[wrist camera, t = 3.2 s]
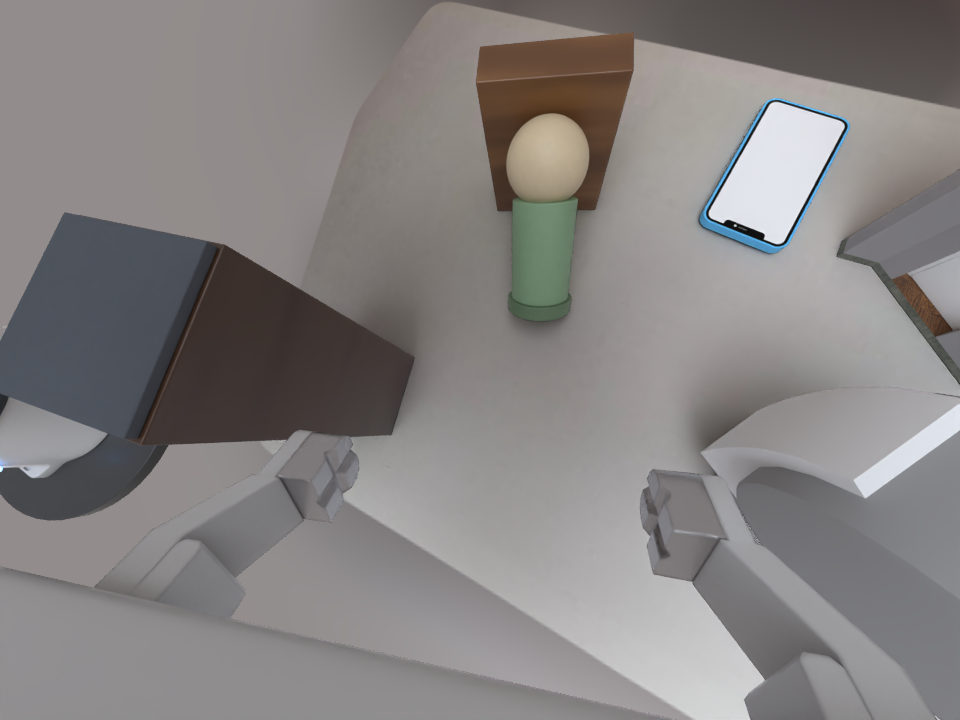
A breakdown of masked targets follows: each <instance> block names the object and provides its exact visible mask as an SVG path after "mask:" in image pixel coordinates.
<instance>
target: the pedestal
mask: <svg viewBox="0 0 960 720" xmlns="http://www.w3.org/2000/svg"><path fill="white" fill-rule="evenodd" d="M80 216H82V215H80ZM85 217H87V216H85ZM90 218H92V217H90ZM95 219H97V218H95ZM99 220H101V219H99ZM104 221H106V220H104ZM109 222H111V221H109ZM114 223H116V222H114ZM119 224H121V223H119ZM124 225H126V224H124ZM129 226H131V225H129ZM134 227H136V226H134ZM139 228H140V227H139ZM144 229H146V228H144ZM148 230H151V229H148ZM153 231H155V230H153ZM158 232H160V231H158ZM163 233H165V232H163ZM168 234H170V233H168ZM173 235H175V234H173ZM178 236H179V235H178ZM183 237H185V236H183ZM188 238H190V237H188ZM192 239H195V238H192ZM197 240H199V239H197ZM202 241H204V240H202ZM207 242H209V241H207ZM209 243H211V244H212V245H214V246H216V247H217V251H216V253H215V256H214V258H213V261H212V263H211V265H210V268H209V270H208V273H207V275H206V277H205V280H204V282H203V285H202V287H201V289H200V292H199V294H198V297H197V299H196V301H195V304H194V306H193V309H192V311H191V313H190V316H189V318H188V321H187V323H186V325H185V328H184V330H183V333H182V335H181V337H180V340H179V342H178V345H177V347H176V349H175V352H174V354H173V357H172V359H171V361H170V364H169V366H168V369H167V371H166V373H165V376H164V378H163V381H162V383H161V385H160V388H159V390H158V393H157V395H156V397H155V400H154V402H153V405H152V407H151V409H150V412H149V414H148V417H147V419H146V421H145V424H144V426H143V429H142V431H141V433H140V436H139V438H138V439H125V440H127V441H130V442H133V443H136V444H138V445H141V446H148V445H169V444H170V445H172V444H195V443H216V442H217V443H219V442H242V441H265V440H288V439H289V437H290V436H291V435H292V434H293V433H294V432H296V431H298V430H307V431H315V432H323V433H330V434H337V435H344V436H349V437H359V436H382V435H391V433H392V430H393V427H394V423H395V420H396V417H397V414H398V410H399V407H400V404H401V400H402V397H403V394H404V391H405V387H406V384H407V381H408V377H409V374H410V371H411V368H412V364H413V361H414V357H413V356H411V355H410V354H408V353H406V352H404V351H403V350H401V349H399V348H398V347H396V346H394V345H393V344H391V343H389V342H388V341H386V340H384V339H383V338H381V337H379V336H378V335H376V334H374V333H373V332H371V331H369V330H368V329H366V328H364V327H362V326H361V325H359V324H357V323H356V322H354V321H352V320H351V319H349V318H347V317H346V316H344V315H342V314H341V313H339V312H337V311H336V310H334V309H332V308H331V307H329V306H327V305H326V304H324V303H322V302H320V301H319V300H317V299H315V298H314V297H312V296H310V295H309V294H307V293H305V292H304V291H302V290H300V289H299V288H297V287H295V286H294V285H292V284H290V283H289V282H287V281H285V280H283V279H282V278H280V277H278V276H277V275H275V274H273V273H272V272H270V271H268V270H267V269H265V268H263V267H262V266H260V265H258V264H256V263H255V262H253V261H252V260H250V259H248V258H246V257H245V256H243V255H241V254H240V253H238V252H236V251H235V250H233V249H231V248H229V247H228V246H226V245H224V244H219V243H214V242H209Z"/></svg>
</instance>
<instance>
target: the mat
mask: <svg viewBox="0 0 960 720" xmlns="http://www.w3.org/2000/svg"><path fill="white" fill-rule="evenodd" d="M216 251H217V247H216V246H214V245H212V244H211V243H209V242H207V241H202V240H197V239H192V238H188V237H183V236H178V235H173V234H168V233H163V232H158V231H153V230H148V229H144V228H139V227H134V226H129V225H124V224H119V223H114V222H109V221H104V220H99V219H95V218H90V217H85V216H80V215H74V214H70V213H64V214H63V216H62V218H61V220H60V222H59V224H58V226H57V228H56V230H55V232H54V234H53V236H52V238H51V240H50V242H49V244H48V246H47V248H46V250H45V252H44V254H43V256H42V258H41V260H40V262H39V264H38V266H37V268H36V270H35V272H34V274H33V276H32V278H31V280H30V282H29V284H28V286H27V288H26V290H25V292H24V294H23V296H22V298H21V300H20V302H19V304H18V306H17V308H16V310H15V312H14V314H13V316H12V318H11V320H10V322H9V324H8V326H7V328H6V330H5V332H4V334H3V336H2V338H1V340H0V394H2V395H5V396H8V397H11V398H13V399H16V400H19V401H21V402H24V403H27V404H29V405H32V406H35V407H38V408H40V409H43V410H46V411H48V412H51V413H54V414H56V415H59V416H62V417H65V418H67V419H70V420H73V421H75V422H78V423H81V424H83V425H86V426H89V427H92V428H94V429H97V430H100V431H102V432H105V433H108V434H110V435H113V436H116V437H119V438H121V439H138V438H139V436H140V433H141V431H142V429H143V426H144V424H145V421H146V419H147V417H148V414H149V412H150V409H151V407H152V405H153V402H154V400H155V397H156V395H157V393H158V390H159V388H160V385H161V383H162V381H163V378H164V376H165V373H166V371H167V369H168V366H169V364H170V361H171V359H172V357H173V354H174V352H175V349H176V347H177V345H178V342H179V340H180V337H181V335H182V333H183V330H184V328H185V325H186V323H187V321H188V318H189V316H190V313H191V311H192V309H193V306H194V304H195V301H196V299H197V297H198V294H199V292H200V289H201V287H202V285H203V282H204V280H205V277H206V275H207V273H208V270H209V268H210V265H211V263H212V261H213V258H214V256H215V253H216Z"/></svg>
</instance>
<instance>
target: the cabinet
mask: <svg viewBox="0 0 960 720" xmlns="http://www.w3.org/2000/svg"><path fill="white" fill-rule="evenodd" d="M837 257H840V258H844V259H847V260H851V261H854V262H858V263H861V264H865V265H869V266H872V268H873V269H874V270H875V272H876V273H877V274H878V276H879V277H880V278H881V280H882V281H883V282H884V284H885V285H886V286H887V288H888V289H889V290H890V292H891V293H892V294H893V296H894V297H895V298H896V300H897V301H898V302H899V304H900V305H901V306H902V308H903V309H904V310H905V312H906V313H907V314H908V316H909V317H910V318H911V320H912V321H913V322H914V324H915V325H916V326H917V328H918V329H919V330H920V332H921V333H922V334H923V336H924V337H925V338H926V340H927V341H928V342H929V344H930V345H931V346H932V348H933V349H934V350H935V352H936V353H937V354H938V356H939V357H940V358H941V360H942V361H943V362H944V364H945V365H946V366H947V368H948V369H949V370H950V371H951V373H952V374H953V375H954V377H955V378H956V379H957V381H958V382H959V383H960V169H959V170H957V171H956V172H954V173H952V174H951V175H949V176H947V177H946V178H944V179H942V180H941V181H939V182H938V183H936V184H934V185H933V186H931V187H929V188H928V189H926V190H925V191H923V192H921V193H920V194H918V195H916V196H915V197H913V198H911V199H910V200H908V201H907V202H905V203H903V204H902V205H900V206H898V207H897V208H895V209H894V210H892V211H890V212H889V213H887V214H885V215H884V216H882V217H880V218H879V219H877V220H876V221H874V222H872V223H871V224H869V225H867V226H866V227H864V228H863V229H861V230H859V231H858V232H856V233H854V234H853V235H851V236H850V237H848V238H846V239H845V240H843V241H842V242H841V245H840V248H839V251H838V254H837ZM955 257H956V258H955ZM950 259H951V260H950ZM945 261H946V262H945Z"/></svg>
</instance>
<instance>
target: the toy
mask: <svg viewBox="0 0 960 720" xmlns="http://www.w3.org/2000/svg"><path fill="white" fill-rule="evenodd" d="M588 166H589V147H588V142H587V139H586V136H585V134H584V133H583V131H582V129H581V128H580V127H579V126H578V124H577V123H576V122H574V121H573V120H572V119H570V118H568V117H566V116H564V115H561V114H555V113H549V114H543V115H539V116H537V117H534V118H533V119H531V120H529V121H528V122H527V123H525V124H524V125H523V126H522V127H521V128H520V129H519V131H518V132H517V133H516V135H515V136H514V138H513V140H512V142H511V144H510V147H509V150H508V154H507V160H506V169H507V176H508V180H509V183H510V185H511V187H512V189H513V190H514V192H515V193H516V195H517V196H518V197H517V198H515V199H513V214H512V291H511V292H510V293H509V295H508V309H509V311H510V312H511V313H512V314H513V315H515V316H516V317H519V318H522V319H526V320H531V321H550V320H555V319H559V318H562V317H564V316H565V315H567V314H568V313H569V311H570V304H571V295H570V294H569V293H568V290H569V281H570V271H571V261H572V252H573V242H574V233H575V223H576V213H577V204H578V198H577V197H574V196H572V195H573V194H574V193H575V192H576V191H577V190H578V189H579V187H580V186H581V184H582V183H583V180H584V178H585V176H586V173H587V170H588Z"/></svg>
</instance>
